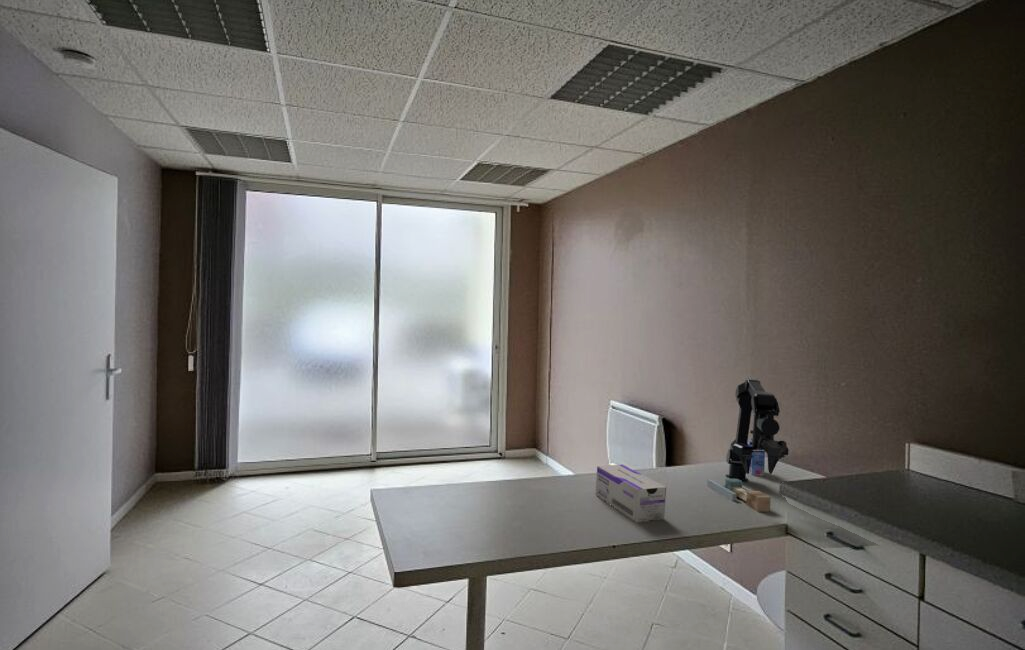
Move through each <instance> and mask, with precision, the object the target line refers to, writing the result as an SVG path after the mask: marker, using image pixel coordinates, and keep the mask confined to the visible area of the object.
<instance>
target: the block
mask: <svg viewBox="0 0 1025 650" xmlns="http://www.w3.org/2000/svg"><path fill="white" fill-rule="evenodd" d="M771 499H772V497H771V496H769V494H768V495H767V494H766V493H764V492H762V491H760V490H752V491H747V497H746V501H745V505H746V506H747V507H749V508H751V509H752V510H753V511H756V512H770V511H771Z"/></svg>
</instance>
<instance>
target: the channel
mask: <svg viewBox="0 0 1025 650" xmlns="http://www.w3.org/2000/svg"><path fill="white" fill-rule="evenodd" d="M706 483H707V485H706V486H707V487H708V488H710V489H712V490H713V491H715V492H717V493H719V494H721V495H722V496H724V497H725V498H727V499H729V500H730V501H733V502H736V501H737V494H736V493H734V492H732V491H731V490H729V489H727V488H725V485H721V484H720V483H718V482H716V481H714V480H712V479H707V481H706ZM742 489H744V490H746V491H753V490H752V489H749V488H747V487H746V486H744V485H742Z"/></svg>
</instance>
